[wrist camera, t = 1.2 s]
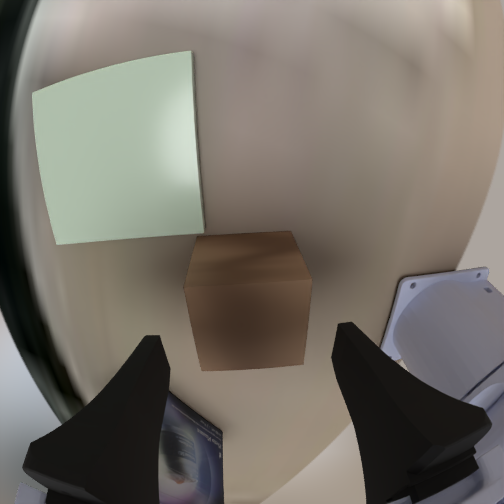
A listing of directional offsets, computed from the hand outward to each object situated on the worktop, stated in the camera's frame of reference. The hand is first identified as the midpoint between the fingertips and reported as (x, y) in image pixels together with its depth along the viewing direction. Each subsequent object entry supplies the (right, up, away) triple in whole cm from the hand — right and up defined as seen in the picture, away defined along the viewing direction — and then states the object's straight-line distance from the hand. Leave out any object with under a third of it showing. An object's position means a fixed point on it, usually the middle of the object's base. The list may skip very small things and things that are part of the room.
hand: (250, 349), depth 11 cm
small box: (-8, -11, +12) cm, 18 cm away
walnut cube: (0, +3, +5) cm, 6 cm away
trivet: (-7, +9, +2) cm, 12 cm away
